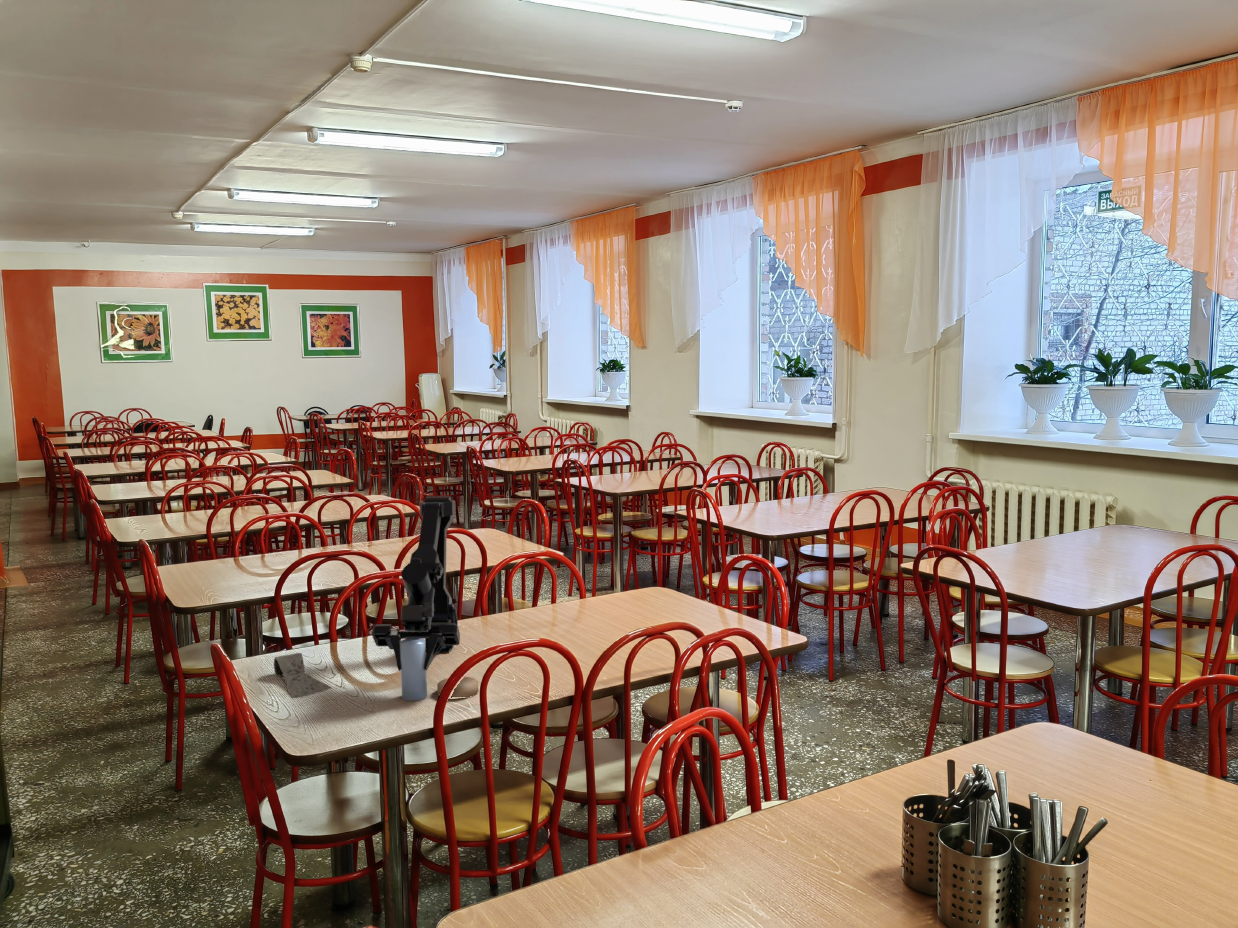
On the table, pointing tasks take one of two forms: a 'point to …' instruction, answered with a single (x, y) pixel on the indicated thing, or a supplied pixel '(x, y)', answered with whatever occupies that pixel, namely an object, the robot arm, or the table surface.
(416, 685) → the pale blue pillar candle
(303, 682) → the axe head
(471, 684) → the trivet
